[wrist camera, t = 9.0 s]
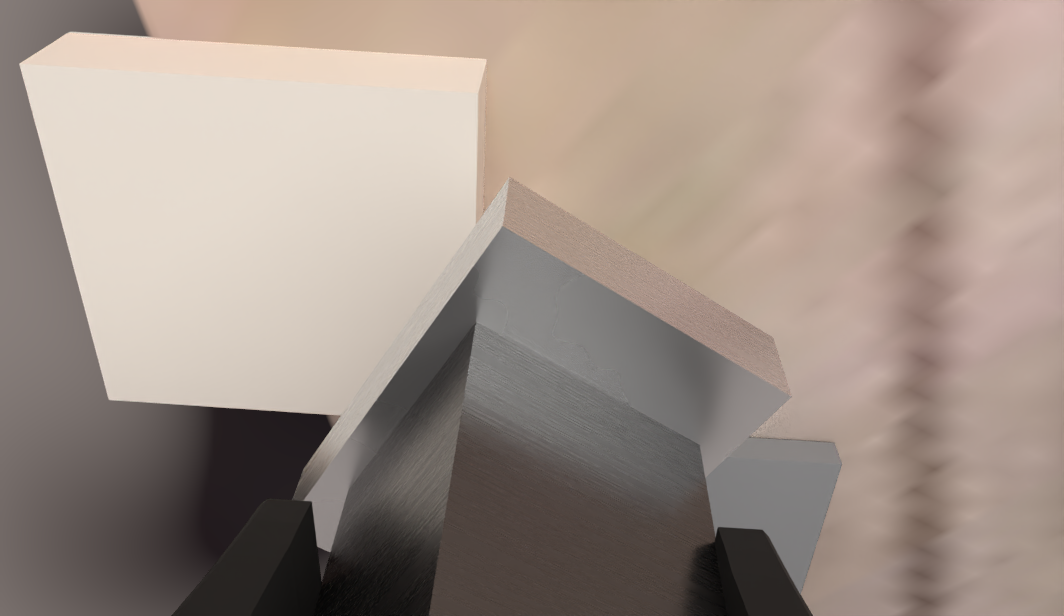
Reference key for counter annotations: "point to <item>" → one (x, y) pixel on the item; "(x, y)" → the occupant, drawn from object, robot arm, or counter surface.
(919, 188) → the counter surface
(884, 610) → the counter surface
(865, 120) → the counter surface
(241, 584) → the robot arm
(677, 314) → the metal post with plate
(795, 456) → the slate board
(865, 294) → the counter surface
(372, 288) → the ceramic tile
